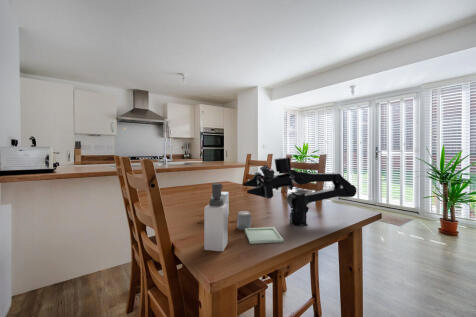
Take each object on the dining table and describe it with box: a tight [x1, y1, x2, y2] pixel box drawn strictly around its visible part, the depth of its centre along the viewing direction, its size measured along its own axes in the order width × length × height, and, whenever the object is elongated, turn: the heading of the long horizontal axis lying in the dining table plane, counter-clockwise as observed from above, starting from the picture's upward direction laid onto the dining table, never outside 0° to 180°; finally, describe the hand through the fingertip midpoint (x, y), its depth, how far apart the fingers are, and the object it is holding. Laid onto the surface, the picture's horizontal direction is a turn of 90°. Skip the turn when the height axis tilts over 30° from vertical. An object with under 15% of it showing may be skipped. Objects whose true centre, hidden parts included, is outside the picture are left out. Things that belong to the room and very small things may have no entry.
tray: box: [244, 226, 285, 245], centre depth 84 cm, size 13×13×1 cm
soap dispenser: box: [203, 182, 229, 252], centre depth 75 cm, size 6×9×22 cm
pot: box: [236, 210, 252, 231], centre depth 93 cm, size 6×6×7 cm
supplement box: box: [210, 191, 230, 215], centre depth 106 cm, size 7×7×13 cm
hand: (244, 188), depth 95 cm, fingers open, 9 cm apart
